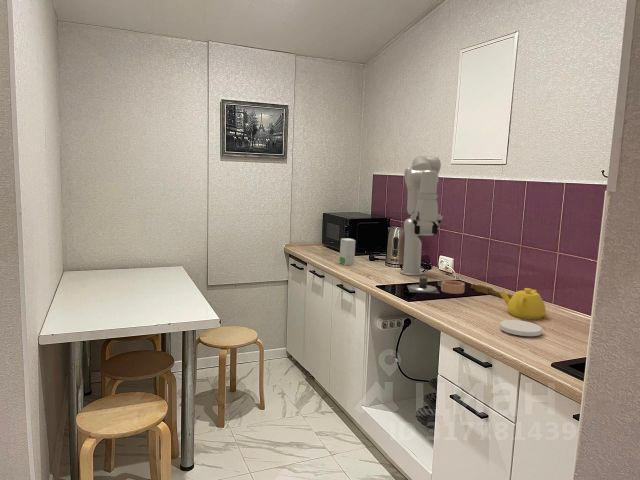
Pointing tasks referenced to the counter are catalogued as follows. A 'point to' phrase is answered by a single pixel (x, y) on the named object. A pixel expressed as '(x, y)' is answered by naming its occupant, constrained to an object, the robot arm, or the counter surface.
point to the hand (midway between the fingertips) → (425, 234)
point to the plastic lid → (520, 328)
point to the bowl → (453, 287)
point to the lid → (422, 286)
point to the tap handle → (487, 290)
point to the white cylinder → (347, 251)
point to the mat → (422, 292)
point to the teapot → (525, 304)
